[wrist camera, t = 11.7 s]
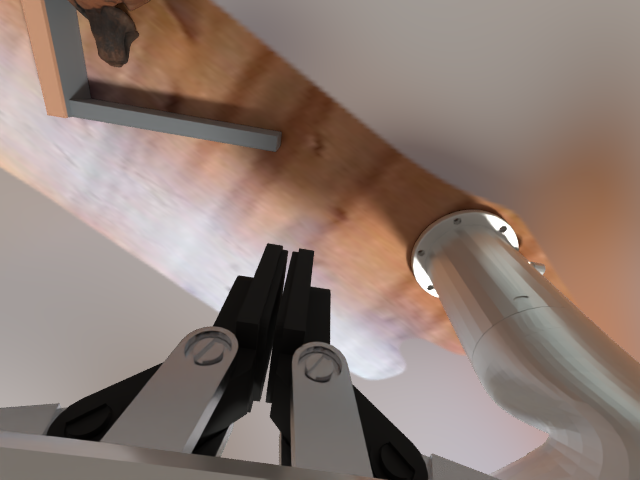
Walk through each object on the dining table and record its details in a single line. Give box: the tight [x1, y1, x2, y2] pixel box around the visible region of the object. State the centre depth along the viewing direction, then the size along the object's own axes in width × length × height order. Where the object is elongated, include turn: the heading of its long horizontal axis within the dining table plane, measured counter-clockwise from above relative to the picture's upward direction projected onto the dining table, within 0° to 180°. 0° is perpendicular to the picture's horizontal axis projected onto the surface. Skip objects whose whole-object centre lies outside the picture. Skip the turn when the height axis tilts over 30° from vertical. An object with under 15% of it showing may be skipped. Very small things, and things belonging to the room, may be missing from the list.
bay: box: [21, 0, 282, 152], centre depth 27 cm, size 22×19×4 cm
